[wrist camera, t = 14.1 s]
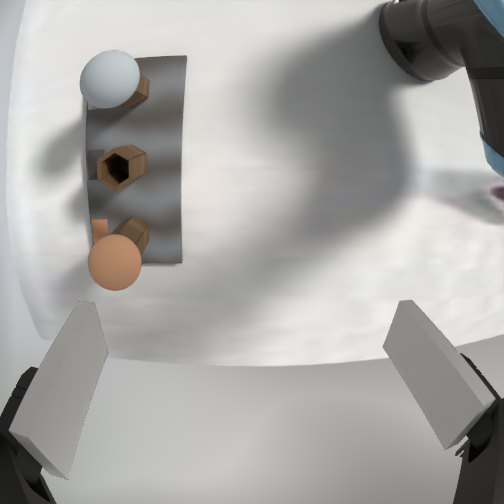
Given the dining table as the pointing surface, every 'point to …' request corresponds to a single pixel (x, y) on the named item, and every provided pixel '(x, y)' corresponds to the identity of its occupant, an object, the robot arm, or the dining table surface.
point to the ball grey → (109, 79)
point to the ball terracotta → (114, 262)
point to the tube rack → (140, 162)
